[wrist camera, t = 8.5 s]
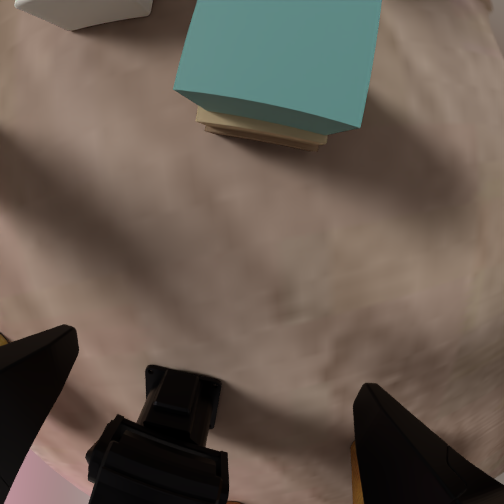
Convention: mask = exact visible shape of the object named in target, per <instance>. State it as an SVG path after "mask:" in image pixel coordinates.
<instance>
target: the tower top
mask: <svg viewBox="0 0 504 504" xmlns="http://www.w3.org/2000/svg"><path fill="white" fill-rule="evenodd" d="M196 121H197V122H199V123H201V124H204V125H206V126H209V127H215V128H222V129H229V130H235V131H241V132H248V133H253V134H259V135H265V136H270V137H276V138H281V139H286V140H291V141H296V142H300V143H305V144H309V145H324V144H326V143H327V138H328V135H322V134H318V133H314V132H310V131H306V130H302V129H298V128H294V127H290V126H285V125H281V124H276V123H272V122H267V121H262V120H257V119H252V118H247V117H242V116H236V115H230V114H225V113H218V112H212V111H206V110H205V109H203V108H202V107H200V106H199V105H198V110H197V115H196Z"/></svg>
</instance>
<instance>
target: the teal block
mask: <svg viewBox="0 0 504 504" xmlns="http://www.w3.org/2000/svg"><path fill="white" fill-rule="evenodd" d="M381 2H382V0H197V4H196V7H195V10H194V13H193V16H192V20H191V23H190V26H189V30H188V33H187V37H186V40H185V44H184V48H183V51H182V55H181V59H180V63H179V67H178V71H177V75H176V79H175V83H174V88H173V90H175V91H177V92H178V93H180V94H181V95H183V96H185V97H186V98H188V99H189V100H191V101H192V102H194V103H196V104H197V105H199V106H200V107H202V108H203V109H205V110H206V111H212V112H218V113H225V114H230V115H236V116H242V117H247V118H252V119H257V120H262V121H267V122H272V123H276V124H281V125H285V126H290V127H294V128H298V129H302V130H306V131H310V132H314V133H318V134H322V135H329V134H334V133H339V132H343V131H348V130H353V129H358V128H360V127H361V123H362V118H363V113H364V108H365V103H366V98H367V92H368V87H369V82H370V76H371V70H372V65H373V59H374V52H375V46H376V40H377V33H378V26H379V18H380V11H381Z"/></svg>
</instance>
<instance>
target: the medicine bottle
mask: <svg viewBox="0 0 504 504" xmlns="http://www.w3.org/2000/svg"><path fill="white" fill-rule="evenodd" d="M152 3H153V0H16V1H15V5H14V6H15V7H16V8H17V9H19V10H22V11H24V12H27V13H29V14H31V15H34V16H36V17H38V18H41V19H43V20H45V21H47V22H50V23H52V24H54V25H56V26H58V27H60V28H62V29H65V30H67V31H73V30H77V29H81V28H85V27H89V26H93V25H98V24H103V23H108V22H113V21H119V20H124V19H131V18H137V17H145V16H148V15H149V14H150V12H151V8H152Z"/></svg>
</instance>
